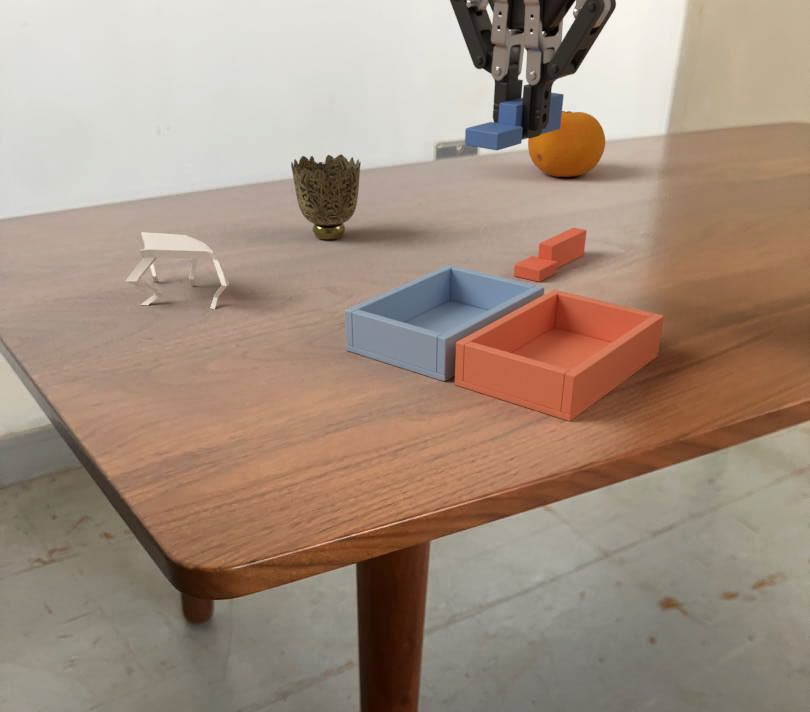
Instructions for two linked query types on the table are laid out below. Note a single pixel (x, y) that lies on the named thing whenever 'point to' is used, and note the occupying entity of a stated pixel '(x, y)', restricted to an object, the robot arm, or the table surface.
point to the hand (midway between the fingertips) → (518, 133)
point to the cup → (327, 193)
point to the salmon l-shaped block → (552, 255)
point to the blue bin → (432, 318)
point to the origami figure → (173, 248)
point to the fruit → (569, 146)
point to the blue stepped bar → (510, 125)
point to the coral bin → (558, 353)
